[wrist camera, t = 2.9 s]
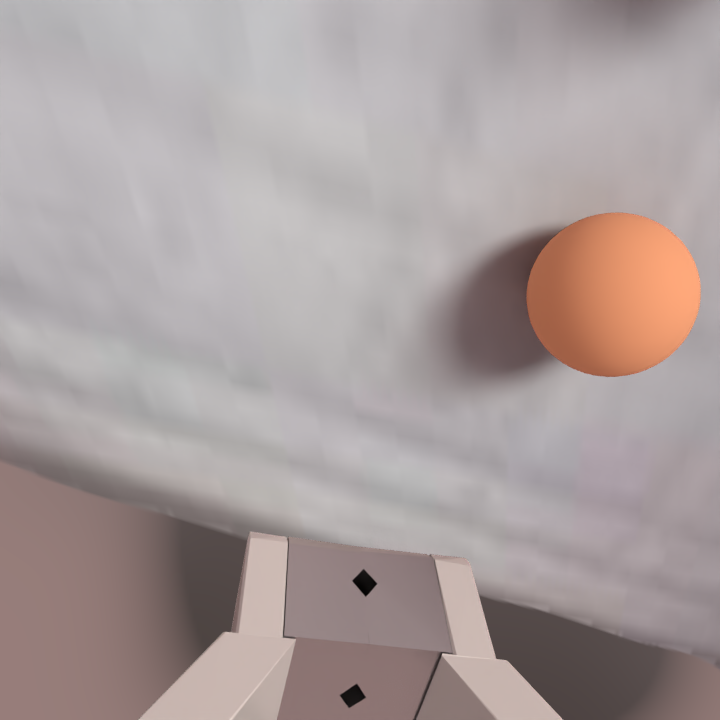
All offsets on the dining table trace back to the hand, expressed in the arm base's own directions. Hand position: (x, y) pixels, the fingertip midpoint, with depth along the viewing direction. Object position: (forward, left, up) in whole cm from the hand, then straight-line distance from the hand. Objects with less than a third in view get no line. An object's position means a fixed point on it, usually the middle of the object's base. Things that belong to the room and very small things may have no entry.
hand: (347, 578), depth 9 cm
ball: (-10, 0, -14) cm, 17 cm away
